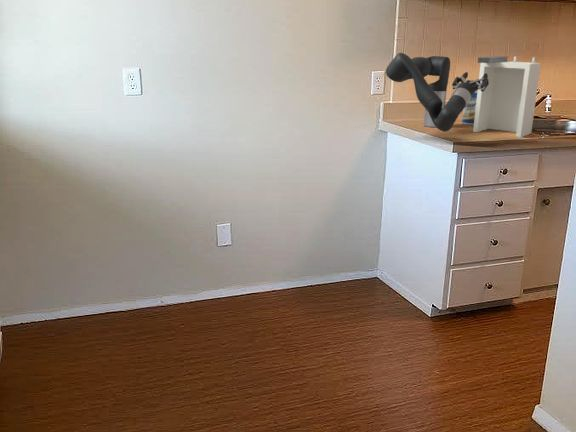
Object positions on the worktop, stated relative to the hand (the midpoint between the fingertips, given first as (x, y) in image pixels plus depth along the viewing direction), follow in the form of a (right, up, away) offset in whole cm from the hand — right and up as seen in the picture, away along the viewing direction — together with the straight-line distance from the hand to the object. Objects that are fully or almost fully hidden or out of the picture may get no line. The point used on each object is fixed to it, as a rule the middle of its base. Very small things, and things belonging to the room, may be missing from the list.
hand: (476, 74), depth 269 cm
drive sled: (+11, +9, +13) cm, 19 cm away
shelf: (+19, -22, +23) cm, 37 cm away
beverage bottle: (+11, -15, +47) cm, 50 cm away
